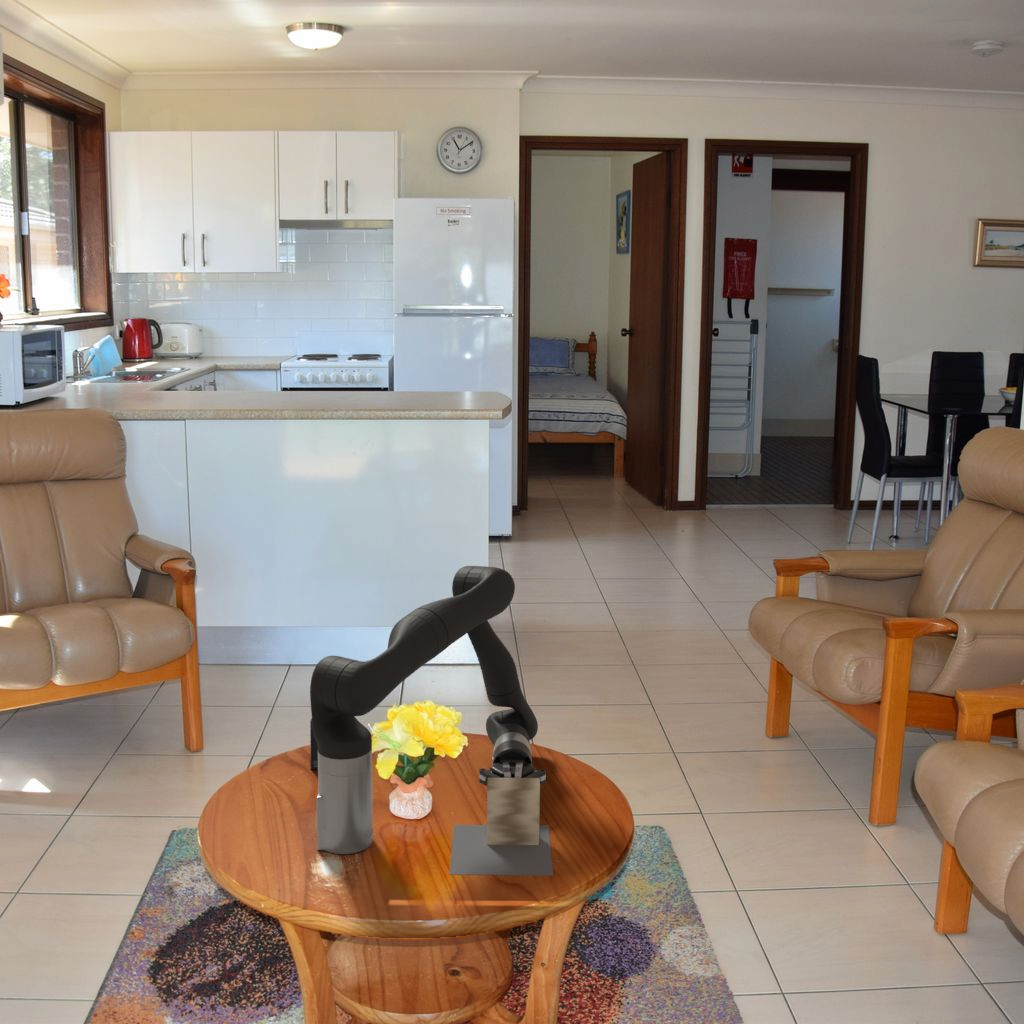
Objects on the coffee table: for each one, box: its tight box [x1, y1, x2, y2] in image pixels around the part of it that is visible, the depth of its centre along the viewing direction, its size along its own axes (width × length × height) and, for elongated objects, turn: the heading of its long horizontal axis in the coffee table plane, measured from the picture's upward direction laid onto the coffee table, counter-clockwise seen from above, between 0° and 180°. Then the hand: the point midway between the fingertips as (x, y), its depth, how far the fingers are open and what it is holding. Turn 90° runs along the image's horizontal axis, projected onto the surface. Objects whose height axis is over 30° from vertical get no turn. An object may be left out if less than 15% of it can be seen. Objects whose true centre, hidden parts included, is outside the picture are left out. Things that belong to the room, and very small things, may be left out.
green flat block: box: [486, 777, 541, 845], centre depth 202 cm, size 9×3×11 cm, turn 90°
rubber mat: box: [448, 824, 554, 877], centre depth 200 cm, size 17×18×1 cm
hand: (512, 796), depth 208 cm, fingers closed
